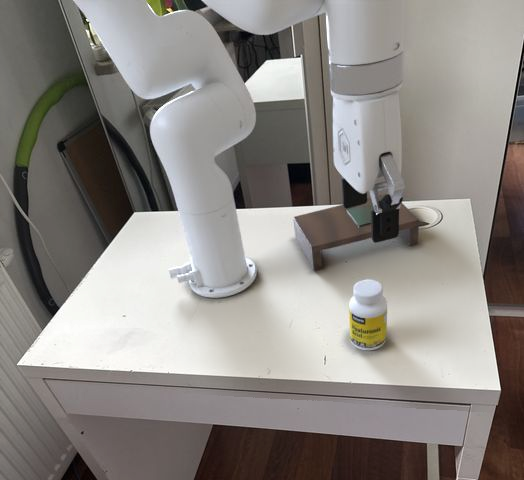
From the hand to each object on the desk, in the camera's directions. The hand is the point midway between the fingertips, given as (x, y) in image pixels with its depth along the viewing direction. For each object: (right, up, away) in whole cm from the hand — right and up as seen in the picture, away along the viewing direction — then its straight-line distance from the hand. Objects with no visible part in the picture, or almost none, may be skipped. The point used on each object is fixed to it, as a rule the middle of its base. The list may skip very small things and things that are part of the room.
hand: (369, 221), depth 66 cm
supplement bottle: (+3, -15, +13) cm, 20 cm away
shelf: (+4, +4, +34) cm, 34 cm away
